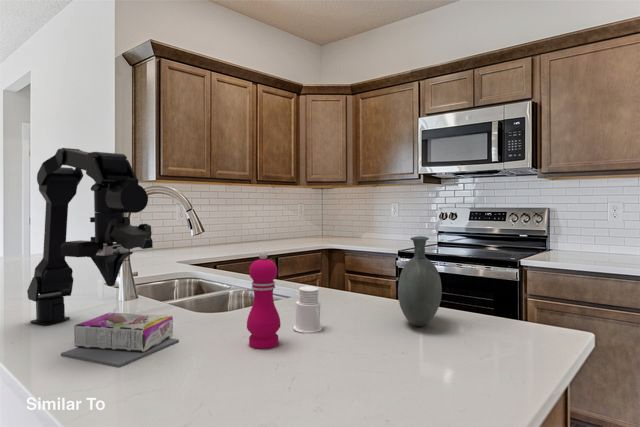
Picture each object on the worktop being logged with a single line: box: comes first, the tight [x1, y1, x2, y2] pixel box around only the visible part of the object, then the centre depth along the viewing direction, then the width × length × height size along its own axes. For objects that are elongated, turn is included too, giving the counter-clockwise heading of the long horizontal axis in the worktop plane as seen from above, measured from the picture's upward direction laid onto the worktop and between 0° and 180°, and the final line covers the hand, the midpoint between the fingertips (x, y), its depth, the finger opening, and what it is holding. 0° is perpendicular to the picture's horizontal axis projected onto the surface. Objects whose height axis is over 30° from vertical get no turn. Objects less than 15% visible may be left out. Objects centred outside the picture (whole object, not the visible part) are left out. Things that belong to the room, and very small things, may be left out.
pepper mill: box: [246, 251, 281, 350], centre depth 95 cm, size 7×7×20 cm
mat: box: [60, 337, 180, 368], centre depth 92 cm, size 16×16×1 cm
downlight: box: [292, 285, 323, 334], centre depth 106 cm, size 8×7×10 cm
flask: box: [397, 235, 443, 327], centre depth 109 cm, size 12×17×22 cm
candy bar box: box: [73, 312, 174, 352], centre depth 95 cm, size 11×5×16 cm
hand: (111, 285), depth 93 cm, fingers closed
